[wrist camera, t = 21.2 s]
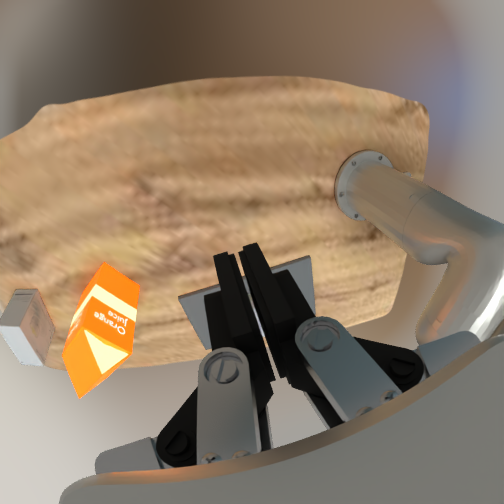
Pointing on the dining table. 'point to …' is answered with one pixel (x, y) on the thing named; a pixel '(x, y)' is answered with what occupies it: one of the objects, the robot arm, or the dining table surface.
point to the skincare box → (27, 327)
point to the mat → (195, 300)
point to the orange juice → (101, 329)
